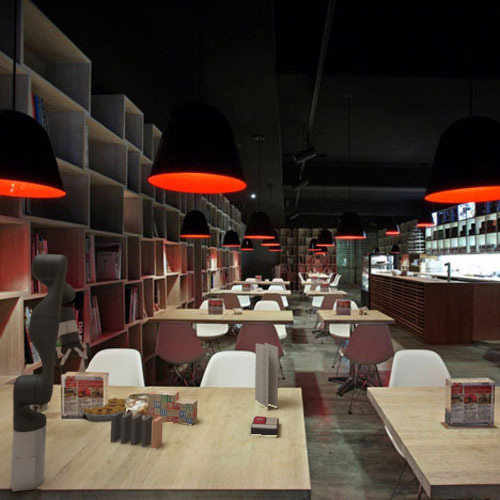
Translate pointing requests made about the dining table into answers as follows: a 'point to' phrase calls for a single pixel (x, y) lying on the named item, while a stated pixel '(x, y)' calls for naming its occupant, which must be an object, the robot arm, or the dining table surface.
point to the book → (265, 425)
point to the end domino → (157, 432)
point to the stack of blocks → (171, 407)
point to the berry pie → (106, 410)
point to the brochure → (266, 374)
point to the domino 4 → (146, 431)
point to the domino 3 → (136, 429)
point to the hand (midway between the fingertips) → (75, 371)
